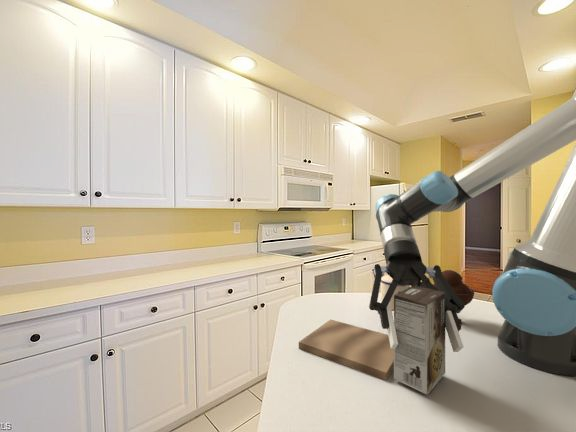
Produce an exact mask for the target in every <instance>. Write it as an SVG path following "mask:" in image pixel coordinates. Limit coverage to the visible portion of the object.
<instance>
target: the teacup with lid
mask: <svg viewBox="0 0 576 432" xmlns="http://www.w3.org/2000/svg"><path fill="white" fill-rule="evenodd" d="M392 280H393V279H392V278H391V277H390V276H389V275H388V274H387V275H384V276H382V278H381V283H380V303H382V300H383V298H384V296H385V294H386V292H387V290H388V288H389V286H390V284H391V282H392ZM409 287H411V286H410V285H406V286H401V285H400V284H398V285H397V287H396V289H395V291H394V294H393V296H392V298H391V300H390V302H389V304H388V306H387V309H391V310H392V311H394V295H395V294H397V293H399V292H401V291H403V290H405V289H407V288H409Z"/></svg>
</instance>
